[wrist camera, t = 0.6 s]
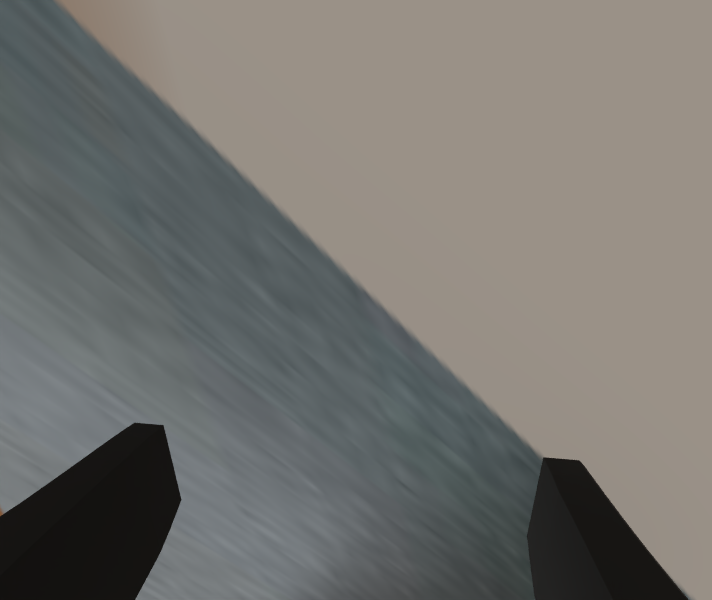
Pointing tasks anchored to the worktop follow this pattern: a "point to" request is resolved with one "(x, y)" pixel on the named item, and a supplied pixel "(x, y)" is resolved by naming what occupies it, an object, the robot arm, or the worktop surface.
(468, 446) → the worktop surface
